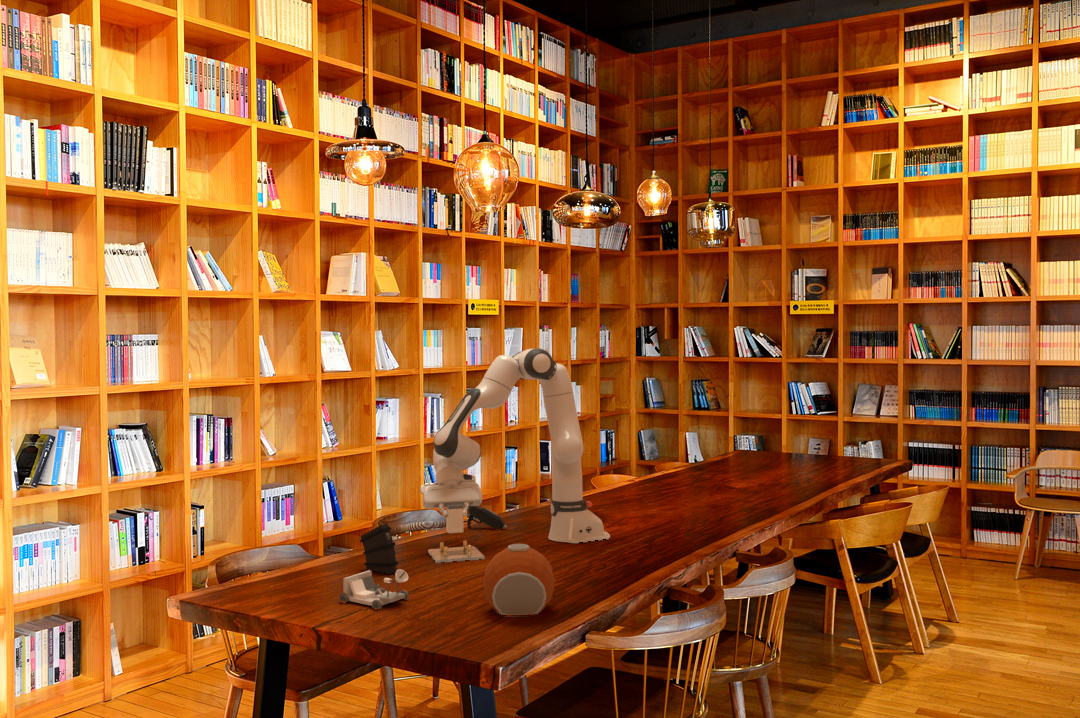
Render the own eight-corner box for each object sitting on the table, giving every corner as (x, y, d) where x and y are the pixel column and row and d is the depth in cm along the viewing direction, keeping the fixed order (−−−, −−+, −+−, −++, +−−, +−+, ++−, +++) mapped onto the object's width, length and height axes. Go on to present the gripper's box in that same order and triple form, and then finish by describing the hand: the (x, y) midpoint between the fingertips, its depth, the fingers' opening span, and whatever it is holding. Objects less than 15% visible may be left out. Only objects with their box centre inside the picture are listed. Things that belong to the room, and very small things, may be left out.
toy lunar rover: (415, 567, 246) (386, 577, 237) (416, 603, 246) (387, 613, 237) (368, 559, 256) (338, 568, 247) (368, 593, 256) (338, 603, 247)
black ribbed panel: (396, 571, 273) (380, 525, 277) (369, 584, 280) (355, 538, 284) (404, 568, 276) (389, 522, 280) (378, 581, 283) (363, 536, 287)
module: (461, 530, 302) (460, 503, 302) (463, 532, 298) (463, 505, 298) (446, 530, 301) (446, 504, 300) (448, 533, 297) (448, 506, 297)
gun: (496, 545, 340) (508, 522, 339) (460, 524, 343) (471, 501, 342) (498, 543, 343) (510, 520, 342) (462, 523, 346) (473, 500, 345)
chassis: (473, 548, 309) (473, 537, 309) (484, 559, 294) (484, 547, 294) (428, 552, 305) (427, 540, 305) (436, 563, 290) (436, 550, 289)
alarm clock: (553, 600, 246) (553, 537, 246) (556, 619, 229) (556, 552, 229) (484, 601, 246) (483, 538, 246) (482, 621, 228) (481, 553, 228)
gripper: (420, 478, 303) (425, 512, 294) (479, 475, 309) (486, 508, 299) (418, 489, 307) (423, 523, 298) (476, 486, 313) (483, 519, 304)
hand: (455, 516), depth 299 cm, fingers closed on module, 5 cm apart
